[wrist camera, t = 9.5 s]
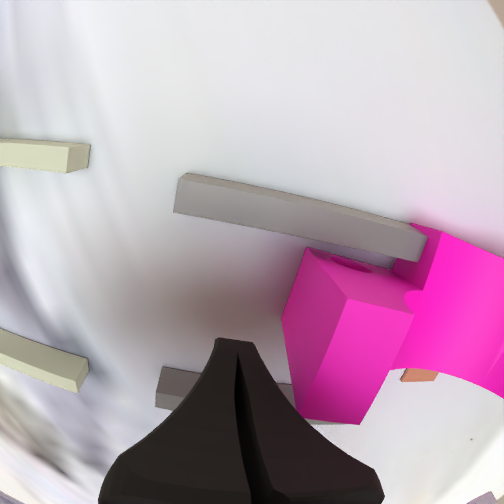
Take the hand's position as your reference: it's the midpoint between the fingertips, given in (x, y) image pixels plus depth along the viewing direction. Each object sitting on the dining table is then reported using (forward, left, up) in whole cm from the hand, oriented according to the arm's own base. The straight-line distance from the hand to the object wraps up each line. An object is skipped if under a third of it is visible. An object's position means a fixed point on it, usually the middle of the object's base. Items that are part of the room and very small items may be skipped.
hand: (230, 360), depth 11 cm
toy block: (+3, -10, -4) cm, 11 cm away
